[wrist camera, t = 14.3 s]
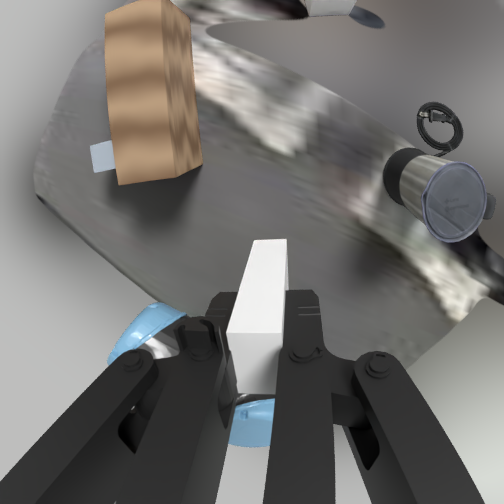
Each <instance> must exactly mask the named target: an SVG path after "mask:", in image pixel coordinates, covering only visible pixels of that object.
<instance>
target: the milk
mask: <svg viewBox="0 0 504 504" xmlns="http://www.w3.org/2000/svg"><path fill="white" fill-rule="evenodd" d="M304 1H305V4H306V8H307V11H308V14H309V17H316V16H333V15H349V13H350V11H351V10H352V8H353V6H354V4H355V2H356V1H357V0H304Z"/></svg>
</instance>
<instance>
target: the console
mask: <svg viewBox="0 0 504 504" xmlns="http://www.w3.org/2000/svg"><path fill="white" fill-rule="evenodd" d="M105 71H106V88H107V101H108V112H109V122H110V131H111V139H112V146H113V154H114V160H115V167H116V173H117V179H118V184H119V185H125V184H131V183H138V182H144V181H152V180H159V179H167V178H175V177H178V176H180V175H182V174H184V173H186V172H188V171H190V170H192V169H194V168H196V167H198V166H200V165H202V164H203V159H202V151H201V142H200V133H199V123H198V113H197V103H196V93H195V82H194V70H193V57H192V44H191V29H190V18H189V17H188V16H187V15H185V14H184V13H183V12H182V11H181V10H180V9H179V8H178V7H177V6H175V5H174V4H173V3H172V2H171V1H170V0H139V1H136V2H133V3H131V4H128V5H125V6H123V7H121V8H118V9H116V10H114V11H111V12H109V13H106V14H105Z"/></svg>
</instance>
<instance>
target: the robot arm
mask: <svg viewBox="0 0 504 504" xmlns="http://www.w3.org/2000/svg"><path fill="white" fill-rule="evenodd" d="M107 363H108V365H109V366H108V367H107V368H106V369H105V371H103V373H102V374H101V375H100V376H99V377H98V378H97V379H96V380H95V381H94V382H93V383H92V384H91V385H90V386H89V387H88V388H87V389H86V390H85V391H84V392H83V393H82V394H81V395H80V396H79V397H78V398H77V399H76V400H75V401H74V403H73V404H72V405H71V406H70V407H69V408H68V409H67V410H66V411H65V412H64V413H63V414H62V415H61V416H60V417H59V418H58V419H57V420H56V422H54V424H53V425H52V426H51V427H50V428H49V429H48V430H47V431H46V432H45V433H44V434H43V435H42V437H40V438H39V440H38V441H37V442H36V443H35V444H34V445H33V446H32V447H31V448H30V449H29V451H28V452H27V453H26V454H25V455H24V456H23V457H22V458H21V459H20V460H19V461H18V463H17V464H16V465H15V466H14V467H13V468H12V469H11V470H10V471H9V473H8V474H7V475H6V476H5V477H4V478H3V479H2V480H1V481H0V504H215V502H216V497H217V493H218V488H219V483H220V479H221V475H222V470H223V465H224V461H225V456H226V451H227V447H228V444H231V445H236V446H241V447H265V446H270V450H269V459H268V468H267V475H266V483H265V490H264V498H263V504H335V454H334V432H333V424H337V425H342V427H343V429H344V432H345V435H346V437H347V440H348V442H349V445H350V447H351V450H352V453H353V455H354V458H355V460H356V463H357V466H358V468H359V471H360V473H361V476H362V479H363V481H364V484H365V487H366V489H367V492H368V495H369V497H370V500H371V503H372V504H485V503H484V501H483V499H482V497H481V495H480V493H479V491H478V489H477V488H476V485H475V484H474V482H473V480H472V478H471V476H470V475H469V473H468V471H467V469H466V467H465V465H464V464H463V462H462V460H461V458H460V457H459V455H458V453H457V451H456V450H455V448H454V446H453V445H452V443H451V441H450V439H449V438H448V436H447V435H446V433H445V431H444V429H443V428H442V426H441V425H440V423H439V421H438V420H437V418H436V417H435V415H434V414H433V412H432V410H431V409H430V407H429V405H428V404H427V402H426V401H425V399H424V398H423V396H422V395H421V393H420V391H419V390H418V388H417V387H416V386H415V384H414V383H413V381H412V380H411V378H410V376H409V375H408V374H407V372H406V370H405V369H404V367H403V366H402V364H401V363H400V362H399V361H398V360H397V359H396V358H395V357H394V356H393V355H390V354H388V353H386V352H380V351H374V352H368V353H366V354H364V355H361V356H360V357H359V358H358V359H357V360H356V361H352V360H346V359H342V358H339V357H337V356H335V355H333V354H331V353H330V352H329V351H328V350H327V349H326V347H325V345H324V341H323V332H322V323H321V315H320V307H319V299H318V296H317V295H316V294H315V293H314V291H313V290H289V288H288V263H287V241H286V239H276V240H254V243H253V246H252V249H251V252H250V256H249V259H248V262H247V266H246V269H245V272H244V275H243V279H242V282H241V285H240V289H239V292H220V293H219V294H217V295H216V296H215V297H214V298H213V299H212V300H211V303H210V305H209V307H208V310H207V312H206V314H205V317H203V316H200V317H192V318H190V317H189V316H187V314H186V313H185V312H183V313H182V312H180V311H178V310H176V309H174V308H172V307H170V306H168V305H166V304H164V303H161V302H156V303H153V304H151V305H149V306H148V307H146V308H145V309H144V310H143V311H142V312H141V313H140V314H139V315H138V316H137V317H136V318H135V320H133V322H132V323H131V324H130V326H129V327H128V328H127V329H126V331H125V332H124V333H123V334H122V336H121V337H120V339H119V340H118V341H117V343H116V345H115V348H114V349H113V350H112V352H111V353H110V355H109V357H108V360H107Z"/></svg>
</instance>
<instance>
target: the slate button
mask: <svg viewBox="0 0 504 504" xmlns="http://www.w3.org/2000/svg"><path fill="white" fill-rule="evenodd" d="M90 149H91V156H92V162H93V168H94V173H96V172H101V171H105V170H110V169H115V168H116V167H115V160H114V154H113V146H112V140H110V141H106V142H102V143H99V144H95V145H92V146H90Z"/></svg>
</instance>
